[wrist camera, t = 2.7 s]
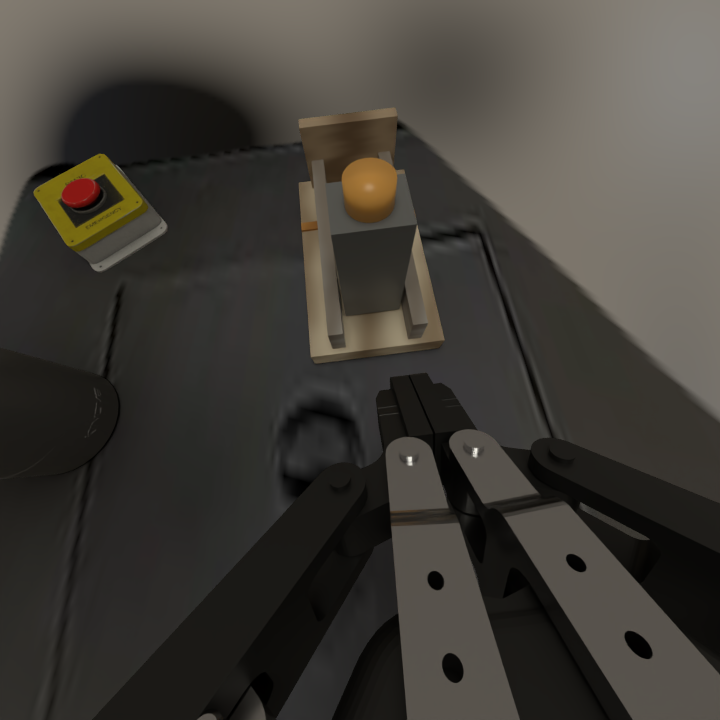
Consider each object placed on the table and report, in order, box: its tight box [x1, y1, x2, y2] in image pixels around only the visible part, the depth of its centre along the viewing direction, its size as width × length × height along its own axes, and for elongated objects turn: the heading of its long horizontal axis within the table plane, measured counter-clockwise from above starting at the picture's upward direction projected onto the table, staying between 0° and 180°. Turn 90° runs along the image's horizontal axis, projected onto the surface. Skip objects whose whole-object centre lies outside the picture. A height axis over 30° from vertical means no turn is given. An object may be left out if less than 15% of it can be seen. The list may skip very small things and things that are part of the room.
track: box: [299, 108, 444, 364], centre depth 26 cm, size 12×21×8 cm, turn 7°
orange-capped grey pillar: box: [325, 158, 417, 316], centre depth 20 cm, size 5×4×12 cm
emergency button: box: [34, 154, 168, 272], centre depth 31 cm, size 9×4×15 cm
